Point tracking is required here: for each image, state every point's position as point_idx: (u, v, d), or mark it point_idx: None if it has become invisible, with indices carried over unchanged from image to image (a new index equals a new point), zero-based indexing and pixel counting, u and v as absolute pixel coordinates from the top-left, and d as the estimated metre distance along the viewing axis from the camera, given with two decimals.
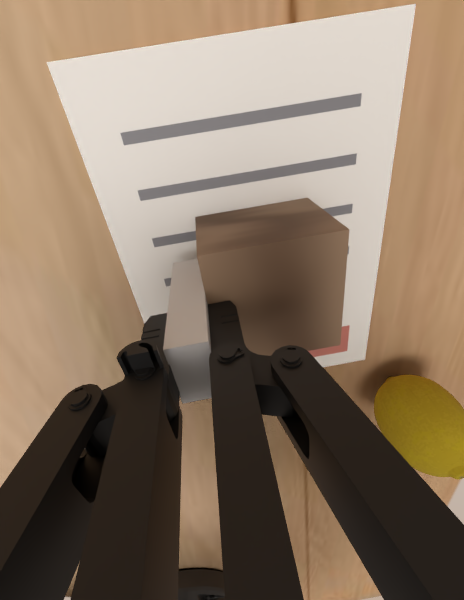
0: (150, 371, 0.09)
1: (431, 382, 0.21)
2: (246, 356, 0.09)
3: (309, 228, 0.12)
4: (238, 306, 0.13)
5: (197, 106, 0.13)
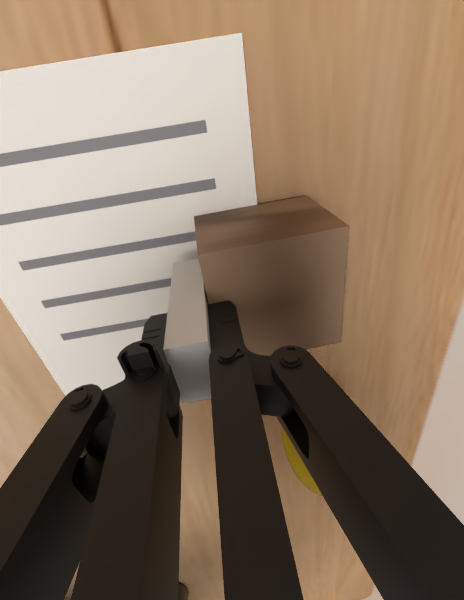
0: (150, 371, 0.09)
1: None
2: (246, 356, 0.09)
3: (308, 225, 0.12)
4: (239, 305, 0.13)
5: (35, 134, 0.13)
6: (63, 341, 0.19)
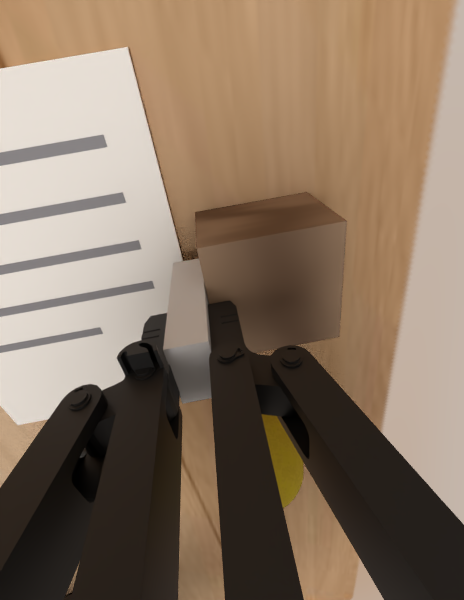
0: (150, 371, 0.09)
1: None
2: (246, 356, 0.09)
3: (307, 220, 0.13)
4: (238, 298, 0.13)
5: None
6: None
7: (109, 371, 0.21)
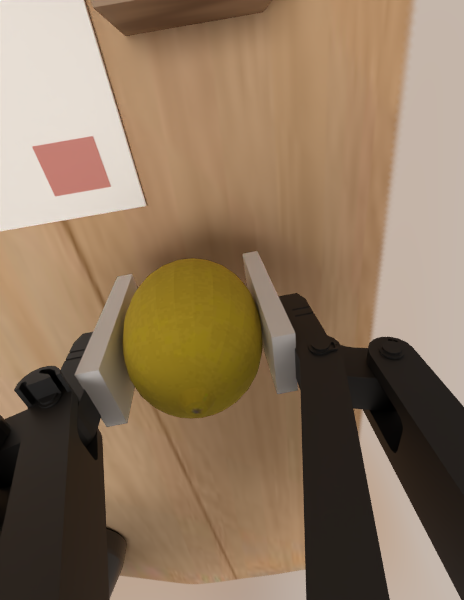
0: (56, 397, 0.09)
1: (208, 261, 0.12)
2: (340, 352, 0.09)
3: None
4: None
5: None
6: None
7: None
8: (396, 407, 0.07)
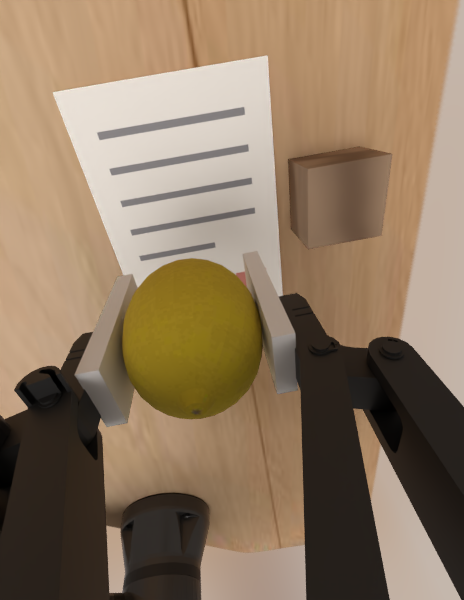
0: (56, 397, 0.09)
1: (208, 261, 0.12)
2: (340, 352, 0.09)
3: (367, 155, 0.22)
4: (325, 204, 0.22)
5: (143, 116, 0.22)
6: (140, 261, 0.28)
7: None
8: (396, 407, 0.07)
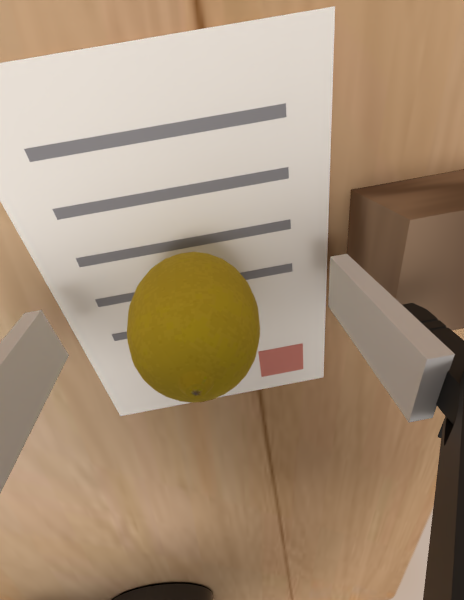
0: None
1: (208, 255, 0.13)
2: None
3: None
4: (429, 276, 0.13)
5: (105, 120, 0.12)
6: (114, 341, 0.18)
7: None
8: None
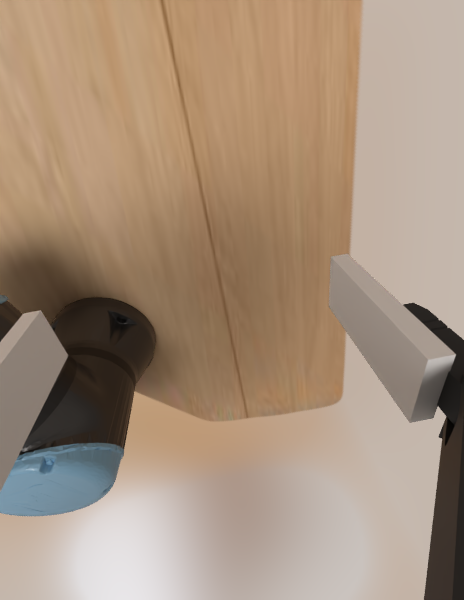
0: None
1: None
2: None
3: None
4: None
5: None
6: None
7: None
8: None
